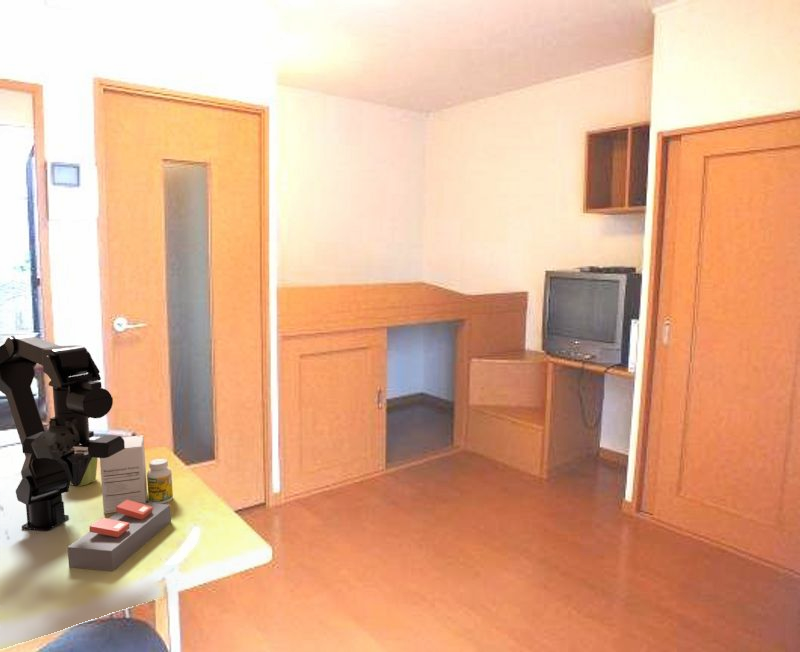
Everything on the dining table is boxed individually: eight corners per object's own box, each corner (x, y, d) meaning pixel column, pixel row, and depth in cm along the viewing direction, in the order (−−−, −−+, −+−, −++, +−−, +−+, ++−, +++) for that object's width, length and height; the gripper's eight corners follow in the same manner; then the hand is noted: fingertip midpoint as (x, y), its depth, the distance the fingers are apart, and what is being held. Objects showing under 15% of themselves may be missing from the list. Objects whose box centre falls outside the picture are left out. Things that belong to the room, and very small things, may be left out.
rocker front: (89, 531, 112) (89, 525, 112) (101, 523, 116) (101, 517, 115) (117, 537, 111) (118, 531, 111) (129, 528, 115) (129, 522, 115)
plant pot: (63, 478, 151) (60, 446, 150) (103, 472, 155) (101, 441, 154) (59, 491, 143) (56, 458, 142) (102, 485, 147) (100, 452, 146)
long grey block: (69, 567, 109) (67, 547, 108) (144, 510, 132) (143, 494, 132) (112, 571, 107) (111, 550, 107) (180, 513, 131) (179, 496, 130)
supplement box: (107, 498, 139) (103, 438, 137) (147, 493, 142) (144, 434, 140) (102, 514, 130) (98, 450, 129) (145, 508, 134) (142, 445, 132)
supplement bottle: (175, 494, 141) (173, 457, 140) (169, 504, 136) (167, 465, 135) (152, 496, 140) (150, 458, 139) (145, 505, 135) (143, 466, 134)
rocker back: (115, 511, 120) (116, 506, 120) (126, 504, 123) (127, 499, 123) (142, 519, 119) (142, 514, 119) (152, 512, 123) (152, 506, 122)
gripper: (-5, 419, 108) (2, 499, 110) (85, 424, 105) (91, 505, 107) (41, 404, 119) (46, 476, 121) (123, 407, 116) (128, 482, 118)
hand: (76, 485), depth 117 cm, fingers closed
